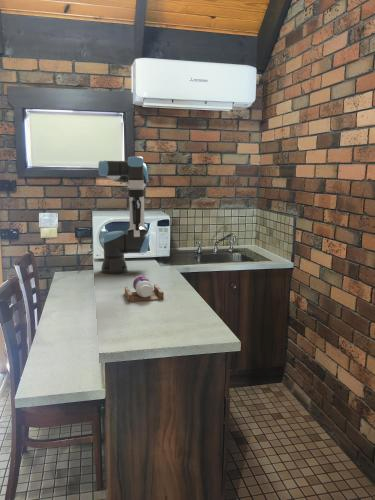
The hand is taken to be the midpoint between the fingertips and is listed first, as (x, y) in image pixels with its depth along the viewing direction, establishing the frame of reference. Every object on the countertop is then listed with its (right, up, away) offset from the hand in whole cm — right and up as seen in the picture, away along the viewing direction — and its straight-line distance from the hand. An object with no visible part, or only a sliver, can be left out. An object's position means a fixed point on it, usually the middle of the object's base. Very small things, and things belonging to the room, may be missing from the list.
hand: (136, 236), depth 212 cm
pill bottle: (+2, -23, -3) cm, 23 cm away
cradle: (+4, -29, -10) cm, 31 cm away
